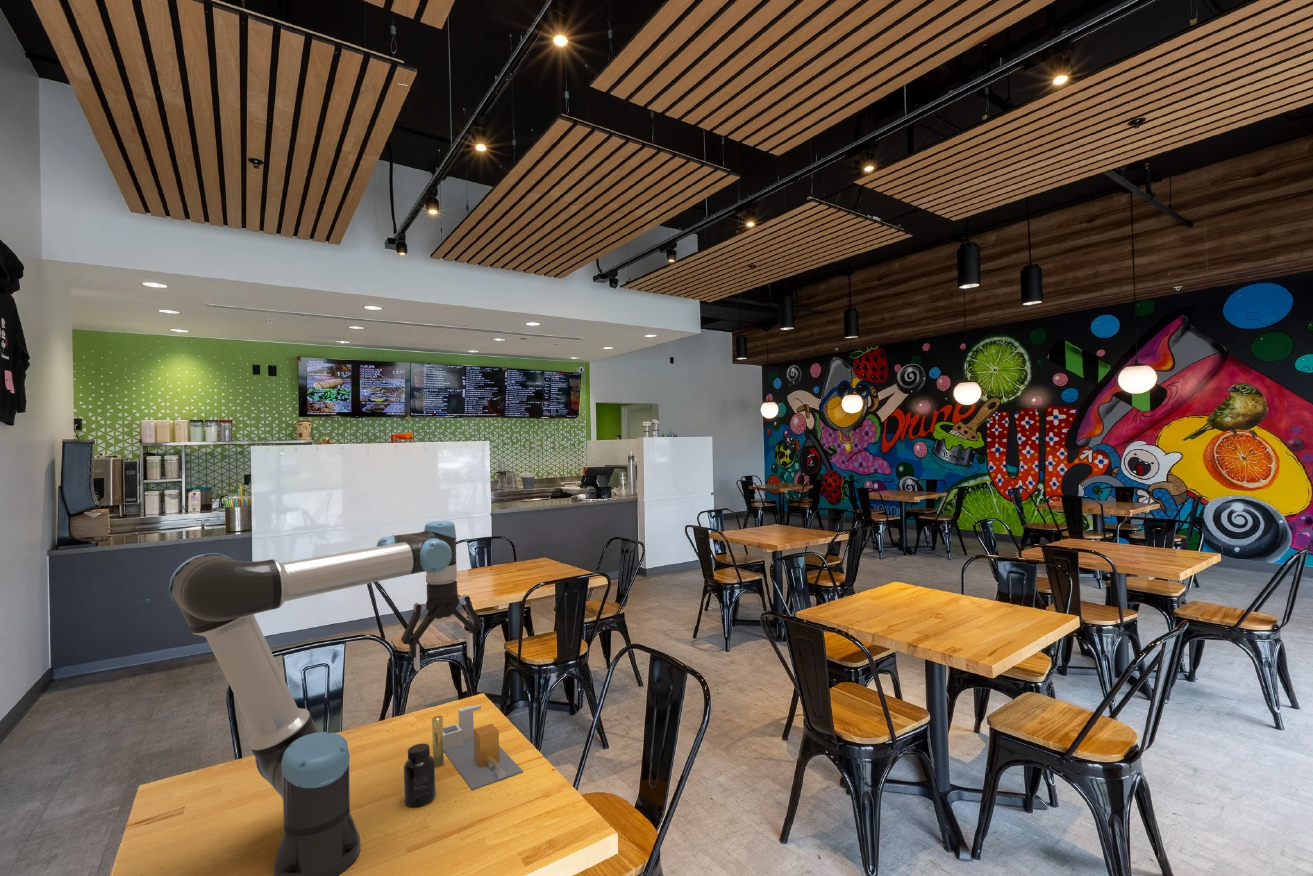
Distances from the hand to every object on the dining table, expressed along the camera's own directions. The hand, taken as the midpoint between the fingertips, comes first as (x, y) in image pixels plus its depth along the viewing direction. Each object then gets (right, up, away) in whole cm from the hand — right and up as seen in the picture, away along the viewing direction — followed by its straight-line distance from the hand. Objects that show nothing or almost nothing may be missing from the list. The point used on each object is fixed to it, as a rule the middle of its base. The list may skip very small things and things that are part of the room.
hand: (444, 663), depth 156 cm
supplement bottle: (-1, -27, -15) cm, 30 cm away
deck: (+7, -27, +4) cm, 28 cm away
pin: (-2, -27, +1) cm, 27 cm away
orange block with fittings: (+13, -26, -2) cm, 29 cm away
